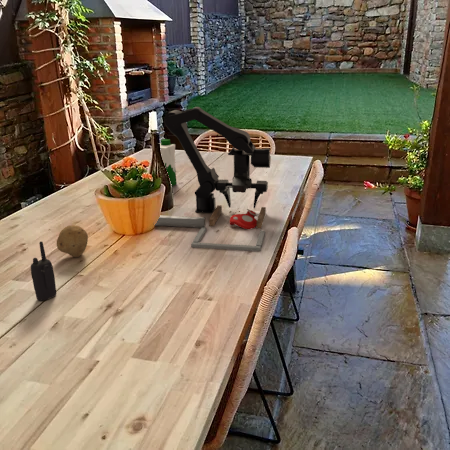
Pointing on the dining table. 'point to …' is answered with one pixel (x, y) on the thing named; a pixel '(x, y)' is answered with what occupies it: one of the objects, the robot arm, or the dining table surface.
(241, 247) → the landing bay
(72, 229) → the potato
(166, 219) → the bar
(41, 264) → the two-way radio
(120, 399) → the dining table surface
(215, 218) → the stall
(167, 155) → the milk carton
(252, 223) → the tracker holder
